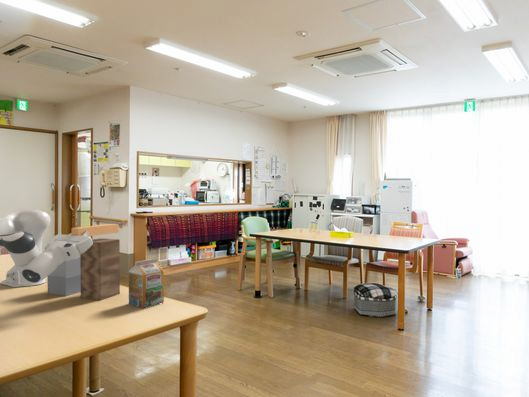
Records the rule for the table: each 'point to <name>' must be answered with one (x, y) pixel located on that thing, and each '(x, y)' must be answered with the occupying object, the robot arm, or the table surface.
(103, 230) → the orange bar
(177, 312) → the table surface
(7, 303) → the table surface
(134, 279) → the milk carton
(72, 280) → the slate pedestal
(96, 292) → the walnut post
